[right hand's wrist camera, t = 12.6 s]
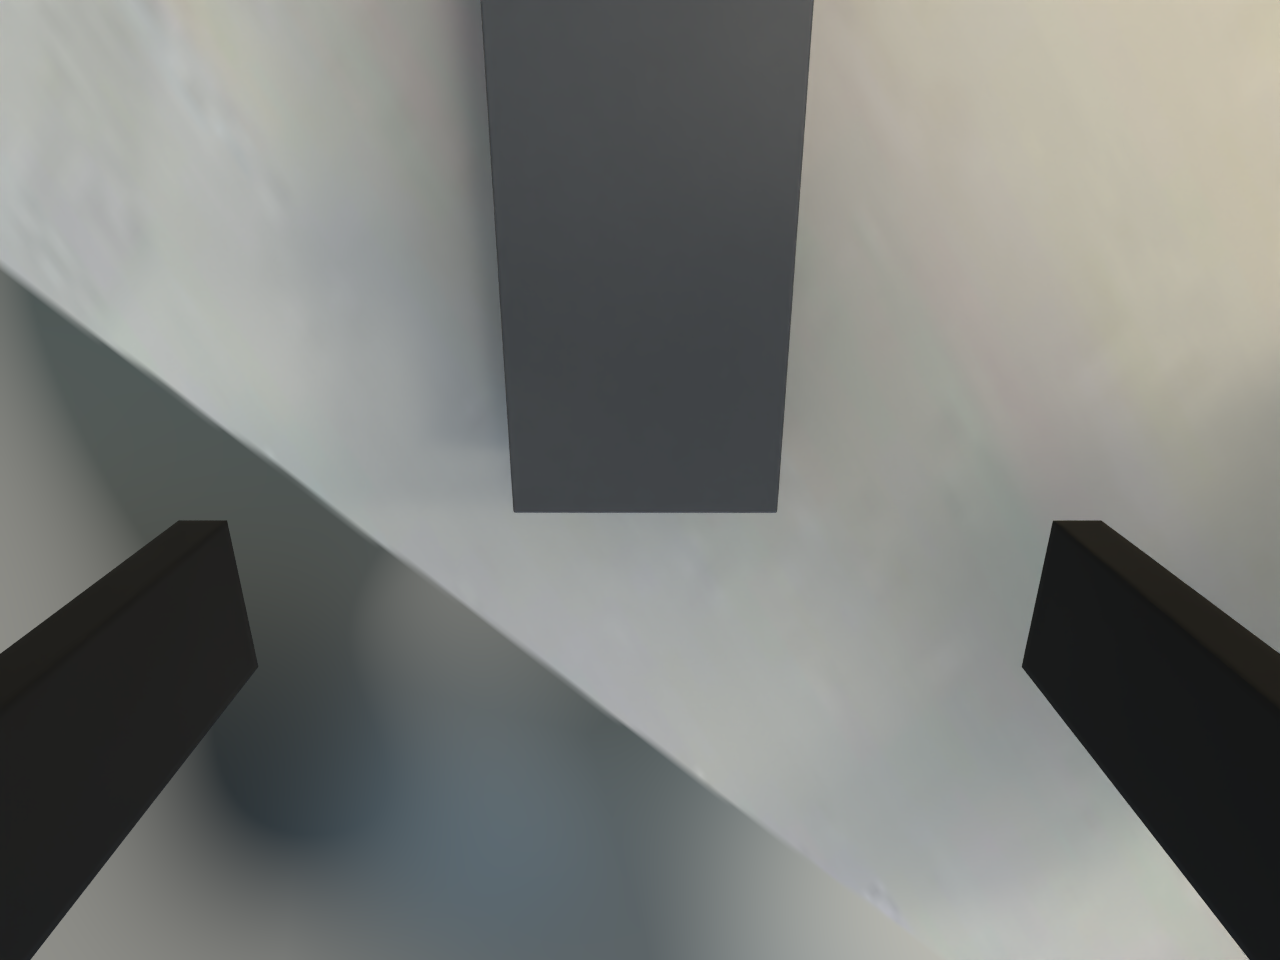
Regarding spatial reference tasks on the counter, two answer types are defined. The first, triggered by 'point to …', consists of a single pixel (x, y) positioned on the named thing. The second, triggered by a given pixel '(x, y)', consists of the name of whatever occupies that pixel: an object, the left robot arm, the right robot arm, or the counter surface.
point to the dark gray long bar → (646, 246)
